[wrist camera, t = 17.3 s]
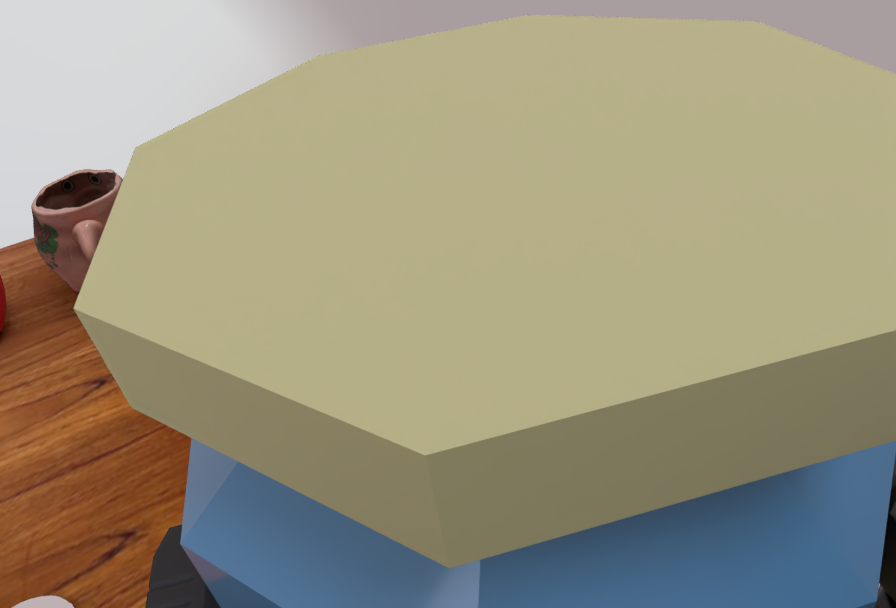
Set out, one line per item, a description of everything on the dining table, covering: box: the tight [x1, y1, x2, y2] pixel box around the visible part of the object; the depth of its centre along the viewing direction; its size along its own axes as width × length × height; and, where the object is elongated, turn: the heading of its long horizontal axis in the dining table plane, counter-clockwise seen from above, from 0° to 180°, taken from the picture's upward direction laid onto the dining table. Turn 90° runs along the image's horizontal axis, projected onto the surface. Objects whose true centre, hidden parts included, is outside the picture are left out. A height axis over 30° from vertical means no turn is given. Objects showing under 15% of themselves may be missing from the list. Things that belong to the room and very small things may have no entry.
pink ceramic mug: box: [32, 169, 123, 296], centre depth 77 cm, size 20×12×14 cm, turn 32°
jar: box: [73, 15, 896, 608], centre depth 11 cm, size 9×9×15 cm
